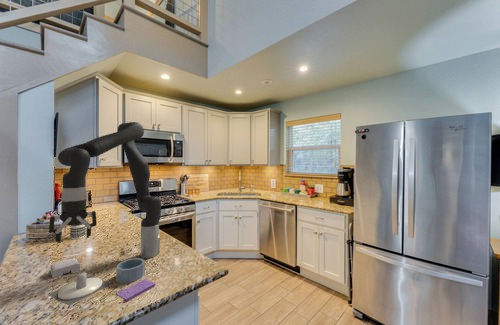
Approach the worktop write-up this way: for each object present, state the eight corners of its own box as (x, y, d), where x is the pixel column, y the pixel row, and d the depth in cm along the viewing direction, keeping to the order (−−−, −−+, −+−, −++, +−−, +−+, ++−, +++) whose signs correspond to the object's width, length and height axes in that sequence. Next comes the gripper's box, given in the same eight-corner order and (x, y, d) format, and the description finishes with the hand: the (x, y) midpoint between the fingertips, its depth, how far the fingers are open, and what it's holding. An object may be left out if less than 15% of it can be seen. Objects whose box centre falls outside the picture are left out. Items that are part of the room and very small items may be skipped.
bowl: (133, 270, 102) (133, 256, 102) (149, 275, 97) (149, 261, 97) (110, 281, 92) (110, 266, 92) (127, 287, 87) (127, 272, 87)
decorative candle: (81, 234, 152) (82, 199, 153) (88, 236, 148) (89, 201, 149) (66, 238, 144) (67, 201, 144) (73, 240, 140) (74, 203, 140)
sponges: (115, 297, 82) (115, 293, 82) (145, 282, 92) (145, 278, 92) (125, 304, 78) (125, 298, 78) (155, 287, 89) (155, 282, 89)
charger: (73, 263, 109) (79, 273, 99) (48, 269, 102) (53, 281, 92) (73, 253, 109) (80, 263, 99) (49, 259, 102) (53, 270, 92)
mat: (90, 277, 94) (90, 275, 94) (111, 286, 88) (111, 283, 88) (47, 296, 81) (47, 294, 81) (69, 308, 75) (69, 305, 75)
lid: (90, 276, 94) (90, 263, 94) (109, 284, 88) (110, 270, 88) (50, 293, 81) (50, 278, 81) (70, 304, 75) (70, 287, 75)
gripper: (95, 195, 90) (95, 233, 90) (50, 199, 81) (49, 241, 81) (97, 198, 84) (97, 238, 84) (48, 202, 75) (48, 247, 75)
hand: (73, 239), depth 82 cm, fingers open, 8 cm apart
